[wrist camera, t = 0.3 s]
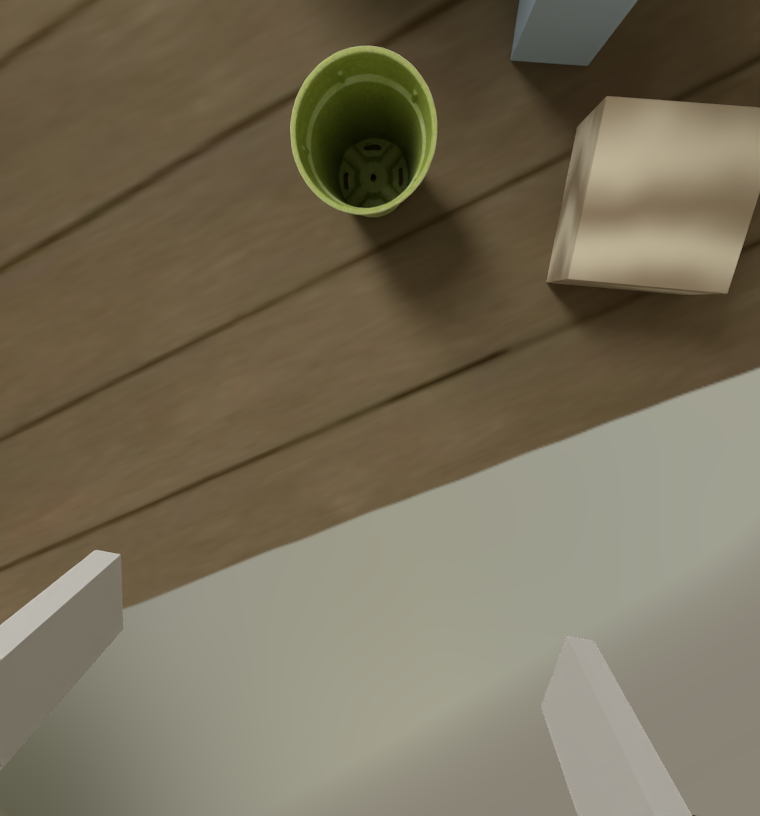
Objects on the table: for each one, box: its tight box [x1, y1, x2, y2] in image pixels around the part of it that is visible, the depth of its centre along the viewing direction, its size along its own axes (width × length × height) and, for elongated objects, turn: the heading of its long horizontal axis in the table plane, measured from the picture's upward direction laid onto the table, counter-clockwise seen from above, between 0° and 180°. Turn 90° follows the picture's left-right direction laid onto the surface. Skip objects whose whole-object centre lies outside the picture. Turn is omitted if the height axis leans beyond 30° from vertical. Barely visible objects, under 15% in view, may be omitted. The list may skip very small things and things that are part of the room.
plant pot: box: [290, 46, 437, 218], centre depth 28 cm, size 9×9×9 cm
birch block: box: [546, 96, 760, 295], centre depth 30 cm, size 12×12×5 cm
